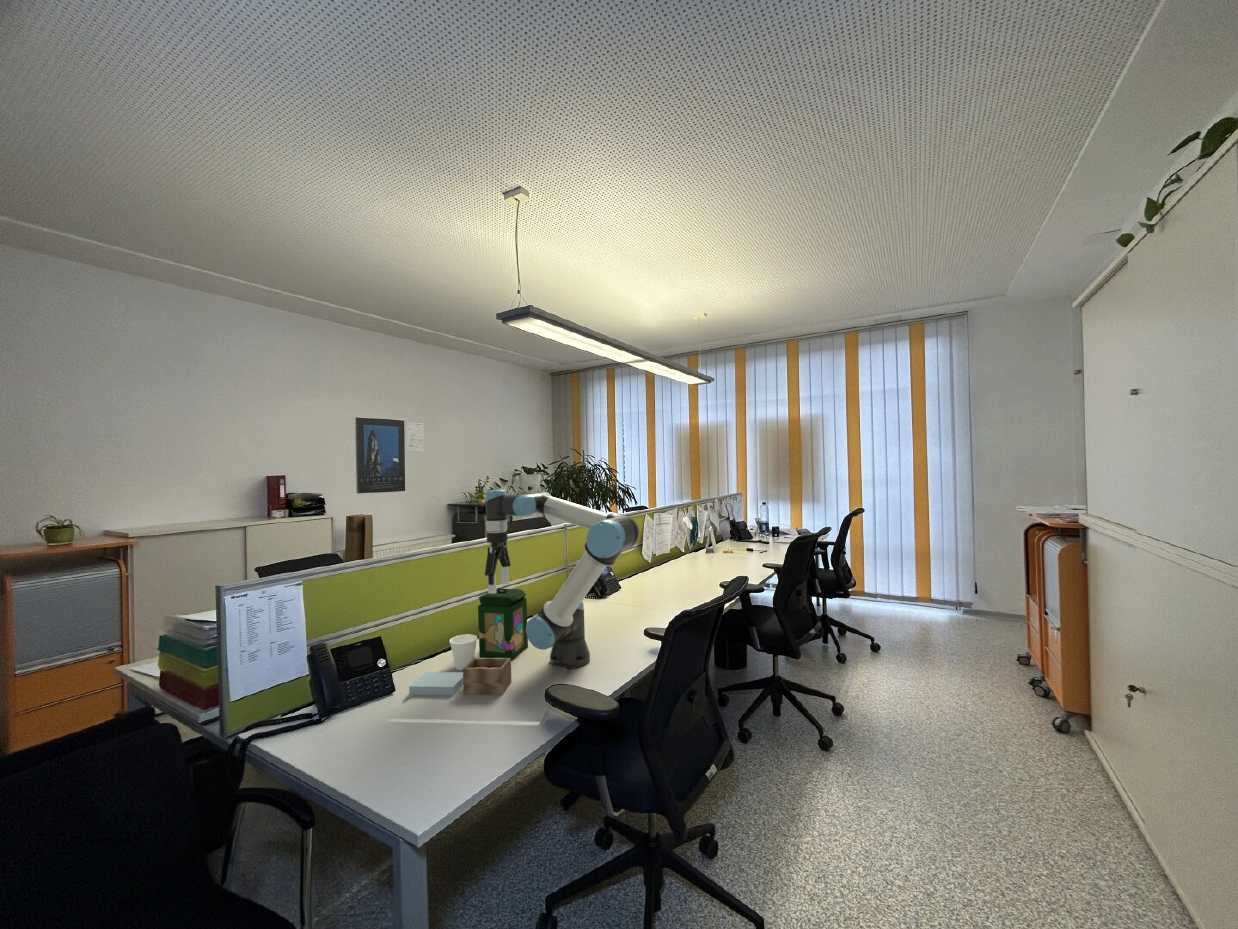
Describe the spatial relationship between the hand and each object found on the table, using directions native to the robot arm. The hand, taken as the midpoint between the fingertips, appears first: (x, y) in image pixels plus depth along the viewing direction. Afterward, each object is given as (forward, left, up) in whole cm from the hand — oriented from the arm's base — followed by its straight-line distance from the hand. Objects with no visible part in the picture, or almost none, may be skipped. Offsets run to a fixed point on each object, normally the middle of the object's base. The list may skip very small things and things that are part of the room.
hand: (498, 588), depth 183 cm
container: (+3, -13, -29) cm, 32 cm away
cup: (+13, +3, -29) cm, 32 cm away
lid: (+15, +20, -29) cm, 38 cm away
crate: (-2, +20, -29) cm, 35 cm away
